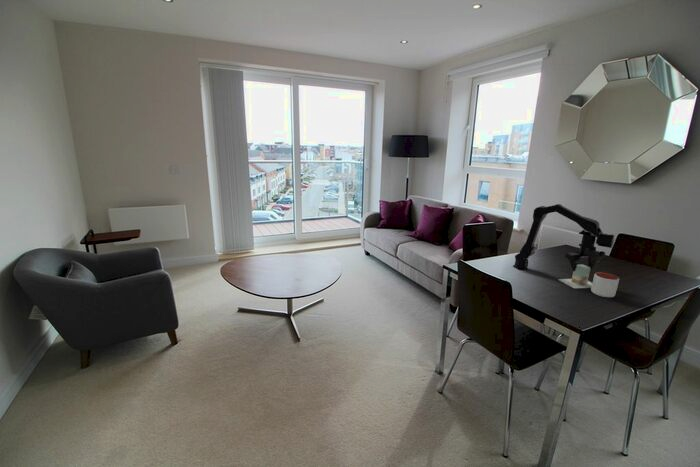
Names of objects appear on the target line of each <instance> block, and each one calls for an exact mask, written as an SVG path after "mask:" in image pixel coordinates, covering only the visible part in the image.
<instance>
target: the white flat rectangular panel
mask: <svg viewBox="0 0 700 467" xmlns="http://www.w3.org/2000/svg"><path fill="white" fill-rule="evenodd" d="M557 280H558V281H559V282H561V283H564V284H566V285H567V286H569V287H571V288H573V289H591V287H592V283H593V282H591V281H590V280H588V282H587V285H577V284H575V283H573V282H571V281H572V278H560V279H557Z"/></svg>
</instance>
